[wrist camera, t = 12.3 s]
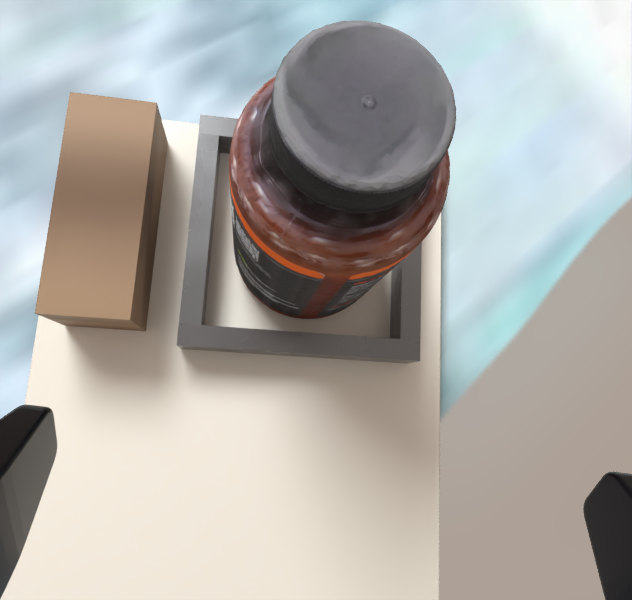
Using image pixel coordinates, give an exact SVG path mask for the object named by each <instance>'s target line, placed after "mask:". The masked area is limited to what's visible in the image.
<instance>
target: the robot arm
mask: <svg viewBox="0 0 632 600" xmlns="http://www.w3.org/2000/svg"><path fill="white" fill-rule="evenodd" d="M56 453H57V437H56V429H55V421H54V414H53V411H52V409H51V408H49V407H44V406H36V405H21V406H19V407H17V408H16V409H14V410H13V411H11V412H10V413H8V414H7V415H6V416H4V417H3V418H1V419H0V599H1V597H2V595H3V593H4V591H5V589H6V587H7V585H8V582H9V580H10V578H11V576H12V574H13V572H14V570H15V567H16V565H17V563H18V561H19V558H20V556H21V553H22V550H23V548H24V545H25V542H26V540H27V537H28V534H29V531H30V528H31V526H32V523H33V520H34V517H35V514H36V511H37V509H38V506H39V503H40V500H41V497H42V495H43V492H44V489H45V486H46V483H47V480H48V478H49V475H50V472H51V469H52V466H53V463H54V461H55V457H56ZM584 517H585V521H586V525H587V529H588V533H589V537H590V541H591V545H592V549H593V552H594V557H595V561H596V565H597V569H598V573H599V577H600V581H601V585H602V589H603V592H604V596H605V599H606V600H632V474H628V473H619V472H609V473H606V474H605V475H604V476H603V477H602V479H601V480H600V481H599V482H598V484H597V485H596V486H595V488H594V489H593V490H592V492H591V493H590V494H589V496H588V497H587V498H586V500H585V503H584Z"/></svg>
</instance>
